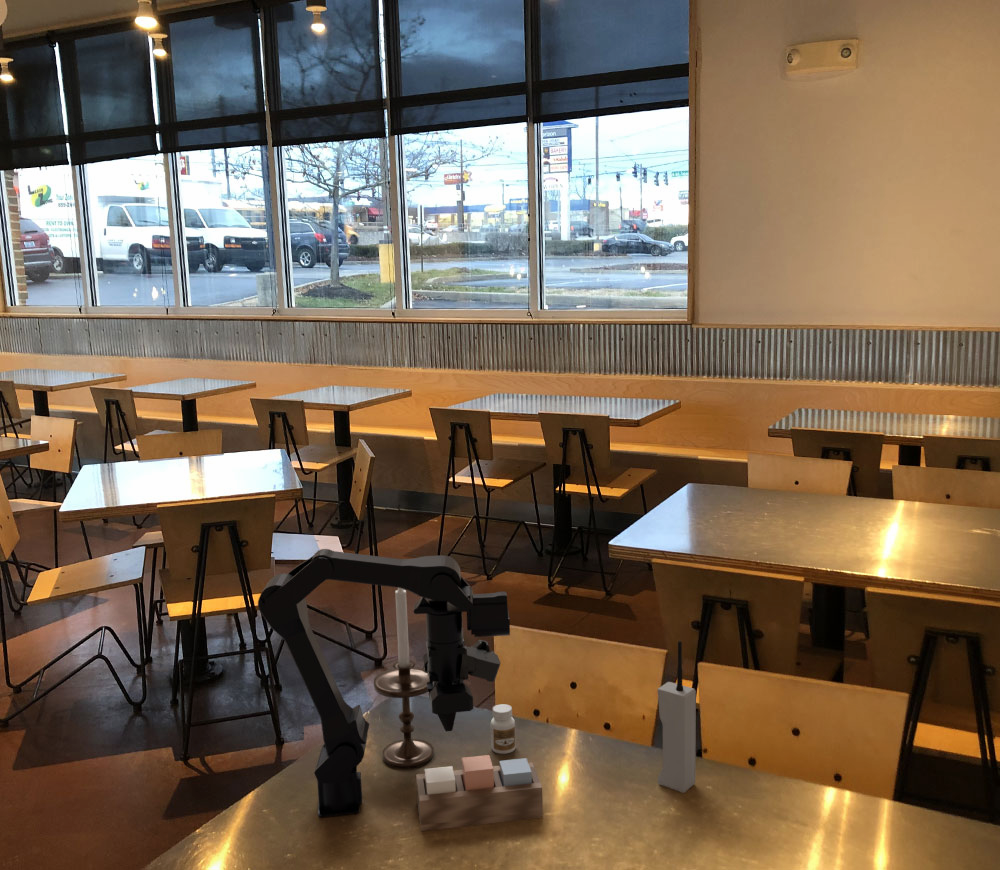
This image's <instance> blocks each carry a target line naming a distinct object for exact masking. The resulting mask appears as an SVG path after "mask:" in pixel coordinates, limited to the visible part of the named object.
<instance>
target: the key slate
mask: <svg viewBox="0 0 1000 870" xmlns="http://www.w3.org/2000/svg"><path fill="white" fill-rule="evenodd" d="M528 763H529V761H528V758H527V757H525V758H524V757H522V758H513V759H506V760H505V759H504V760H499V766H500V780H501V783H502V787H504V786H513V785H522V784H531V783H532V772H531V769H530V766H529V764H528Z"/></svg>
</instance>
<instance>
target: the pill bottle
mask: <svg viewBox="0 0 1000 870" xmlns="http://www.w3.org/2000/svg"><path fill="white" fill-rule="evenodd" d="M492 716H493V717H492V719H490V720H491V721H490V743H491V744H490V745H491V750H492V751H493V752H494V753H496V754H499V755H505V754H510V753H512V752H514V751H515V749H516V748H517V747H516V744H517V742H516V721H515V719H514V718H513V708H512V706H511V705H509V704H506V703H505V704H503V703H501V704H496V705H493V706H492Z"/></svg>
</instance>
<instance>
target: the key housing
mask: <svg viewBox="0 0 1000 870" xmlns="http://www.w3.org/2000/svg"><path fill="white" fill-rule="evenodd" d="M528 764H529V766H530V769H531V772H532V783H531V784H522V785H513V786H504V787H502V783H501V780H500V765H492V766H493V772H494V788H485V789H476V790H467V791H465V788H464V784H463V772H462V769H457V770H455V769H453V772H454V776H455V786H456V792H449V793H440V794H431V795H426V788H425V773H417V774H415V775H416V776H415V777H416V778H415V781H416V782H415V783H416V798H417V803H416V804H417V810H418V818H419V825H420V827H419V828H420V831H421V832H425V831H435V830H443V829H453V828H460V827H461V828H462V827H469V826H478V825H487V824H497V823H504V822H505V823H506V822H514V821H522V820H530V819H539V818H543V817H544V813H543V811H544V809H543V807H544V806H543V802H544V801H543V786H542V784H541V781H540V778H539V776H538V773H537V770H536V767H535V766H534V765H535V764H534V762H531V761H528Z"/></svg>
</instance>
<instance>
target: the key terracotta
mask: <svg viewBox="0 0 1000 870" xmlns="http://www.w3.org/2000/svg"><path fill="white" fill-rule="evenodd" d="M493 766H494V765H493V763H492V759H491V756H490V755H489V754H485V755H477V756H476V755H475V756H467V757H461V767H462V769H461V770H462V772H463V784H464V788H465V791H467V790H476V789H485V788H494V772H493Z"/></svg>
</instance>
